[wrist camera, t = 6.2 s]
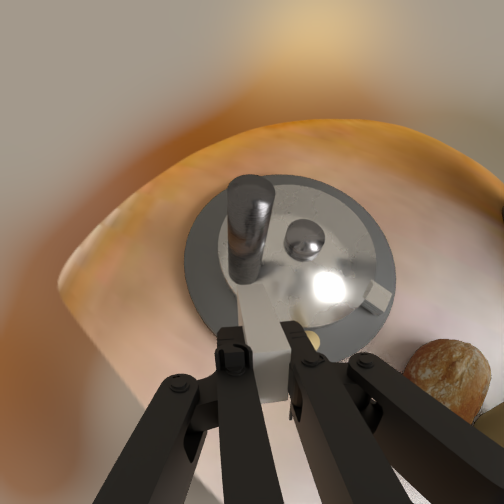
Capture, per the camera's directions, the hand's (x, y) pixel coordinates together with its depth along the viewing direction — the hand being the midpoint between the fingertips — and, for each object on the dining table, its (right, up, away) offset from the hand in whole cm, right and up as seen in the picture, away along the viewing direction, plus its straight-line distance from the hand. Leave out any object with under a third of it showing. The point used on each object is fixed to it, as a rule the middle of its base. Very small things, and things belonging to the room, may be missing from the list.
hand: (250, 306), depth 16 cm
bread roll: (+18, -11, +3) cm, 21 cm away
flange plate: (+5, +3, +8) cm, 10 cm away
